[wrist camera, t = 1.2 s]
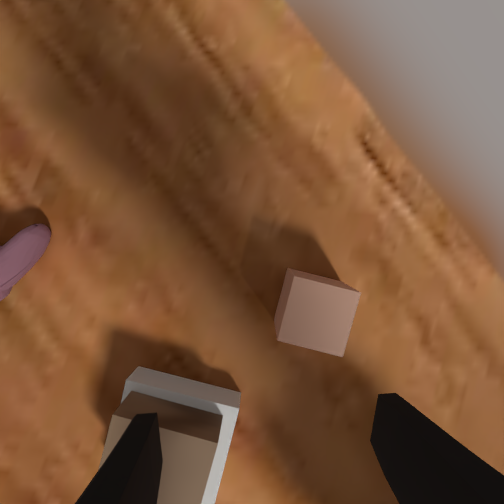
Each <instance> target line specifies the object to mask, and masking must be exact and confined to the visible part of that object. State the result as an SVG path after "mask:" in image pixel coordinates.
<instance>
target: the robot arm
mask: <svg viewBox="0 0 504 504" xmlns="http://www.w3.org/2000/svg"><path fill="white" fill-rule="evenodd" d="M370 441H371V444H372V446H373V449H374V451H375V454H376V456H377V459H378V461H379V463H380V466H381V468H382V470H383V473H384V475H385V477H386V479H387V481H388V483H389V485H390V487H391V489H392V491H393V492H394V494H395V496H396V498H397V500H398V502H399V504H504V475H502V474H501V473H500V472H498V471H497V470H495V469H494V468H493V467H491V466H490V465H489V464H487V463H486V462H484V461H483V460H482V459H480V458H479V457H478V456H476V455H475V454H474V453H472V452H471V451H470V450H468V449H467V448H466V447H465V446H463V445H462V444H461V443H459V442H458V441H457V440H455V439H454V438H453V437H452V436H450V435H449V434H448V433H446V432H445V431H444V430H443V429H441V428H440V427H439V426H437V425H436V424H435V423H434V422H432V421H431V420H430V419H429V418H427V417H426V416H425V415H424V414H422V413H421V412H420V411H418V410H417V409H416V408H415V407H413V406H412V405H411V404H410V403H408V402H407V401H406V400H404V399H403V398H402V397H400V396H399V395H398V394H396V393H388V394H378V400H377V405H376V411H375V416H374V422H373V428H372V433H371V439H370ZM162 465H163V458H162V449H161V441H160V432H159V423H158V415H157V412H156V413H144V414H136V415H135V416H134V417H133V419H132V420H131V422H130V424H129V425H128V427H127V428H126V430H125V432H124V433H123V435H122V436H121V438H120V439H119V441H118V442H117V444H116V445H115V447H114V448H113V450H112V451H111V453H110V454H109V456H108V457H107V459H106V460H105V462H104V463H103V465H102V466H101V468H100V469H99V471H98V472H97V473H96V475H95V476H94V478H93V479H92V480H91V482H90V483H89V485H88V486H87V488H86V489H85V490H84V492H83V493H82V495H81V496H80V497H79V499H78V500H77V501H76V503H75V504H157V499H158V492H159V486H160V479H161V472H162Z"/></svg>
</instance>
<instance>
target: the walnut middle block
mask: <svg viewBox="0 0 504 504" xmlns="http://www.w3.org/2000/svg"><path fill="white" fill-rule="evenodd" d="M156 412H157V415H158V423H159V432H160V441H161V449H162V458H163V465H162V472H161V479H160V486H159V492H158V499H157V504H201V502H202V499H203V495H204V491H205V488H206V484H207V481H208V477H209V474H210V470H211V467H212V463H213V459H214V456H215V452H216V449H217V445H218V441H219V435H220V430H221V424H222V419H223V415H219V414H215V413H212V412H208V411H205V410H201V409H197V408H194V407H190V406H186V405H183V404H179V403H175V402H172V401H168V400H164V399H161V398H157V397H153V396H150V395H146V394H142V393H139V392H135V391H131V392H130V393H129V394H128V396H127V397H126V398H125V399H124V401H123V402H122V403H121V404H120V406H119V407H118V408H117V409H116V411H115V412H114V413H113V414H112V418H111V422H110V426H109V430H108V434H107V438H106V442H105V446H104V450H103V454H102V458H101V462H100V466H99V469H100V468H101V466H102V465H103V463H104V462H105V460H106V459H107V457H108V456H109V454H110V453H111V451H112V450H113V448H114V447H115V445H116V444H117V442H118V441H119V439H120V438H121V436H122V435H123V433H124V432H125V430H126V428H127V427H128V425H129V424H130V422H131V420H132V419H133V417H134V416H135V415H136V414H144V413H156ZM98 471H99V470H98Z"/></svg>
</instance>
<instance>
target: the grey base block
mask: <svg viewBox="0 0 504 504" xmlns="http://www.w3.org/2000/svg"><path fill="white" fill-rule="evenodd" d="M131 391H135V392H139V393H142V394H146V395H150V396H153V397H157V398H161V399H164V400H168V401H172V402H175V403H179V404H183V405H186V406H190V407H194V408H197V409H201V410H205V411H208V412H212V413H215V414H219V415H223V419H222V424H221V430H220V435H219V441H218V445H217V449H216V452H215V456H214V459H213V463H212V467H211V470H210V474H209V477H208V481H207V484H206V488H205V491H204V495H203V499H202V502H201V504H215V500H216V496H217V493H218V489H219V485H220V481H221V477H222V473H223V469H224V466H225V462H226V458H227V454H228V450H229V446H230V443H231V439H232V435H233V431H234V427H235V423H236V420H237V416H238V412H239V407H240V398H241V392H237V391H234V390H230V389H226V388H222V387H218V386H214V385H210V384H206V383H202V382H199V381H195V380H191V379H187V378H183V377H179V376H175V375H171V374H168V373H164V372H160V371H156V370H152V369H148V368H144V367H140V366H138V367H137V368H136V369H135V370H134V371H133V373H132V374H131V375H130V376H129V377H128V378H127V379H126V382H125V387H124V391H123V396H122V400H121V403H122V402H123V401H124V399H125V398H126V397H127V396H128V394H129V393H130V392H131Z"/></svg>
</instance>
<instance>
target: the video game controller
mask: <svg viewBox="0 0 504 504" xmlns="http://www.w3.org/2000/svg"><path fill="white" fill-rule="evenodd" d="M50 237H51V231H50V230H49V228H48V227H47V226H46V225H44V224H34V225H30V226H29V227H27V228H25V229H23V230H21V231H19V232H18V233H17V234H16V235H15V236H14V237H12V238H11V239H10V240H9V241H8V242H7V243H6V244H4V245H3V246H0V301H1V300H2V299H4V298H5V297H6V296H7V295H8V294H9V293H10V291H11V289H12V286H13V285H15V284H16V283H17V282H18V281H19V280H20V279H21V278H22V277H23V276H24V275H25V274H26V273H27V272H28V271H29V270H30V269H31V268H32V267H33V266H34V265H35V263H36V262H37V261H38V260H39V259H40V257H41V256H42V255H43V253H44V252H45V250H46V248H47V246H48V244H49V242H50Z"/></svg>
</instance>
